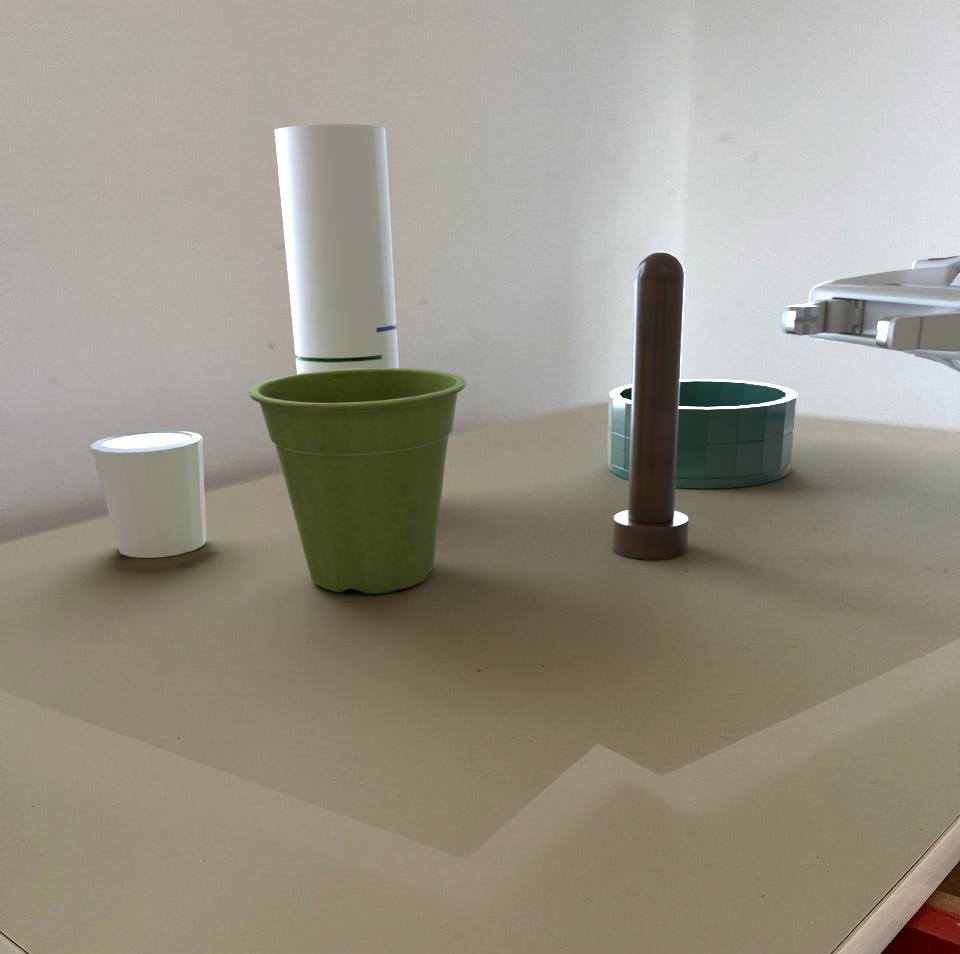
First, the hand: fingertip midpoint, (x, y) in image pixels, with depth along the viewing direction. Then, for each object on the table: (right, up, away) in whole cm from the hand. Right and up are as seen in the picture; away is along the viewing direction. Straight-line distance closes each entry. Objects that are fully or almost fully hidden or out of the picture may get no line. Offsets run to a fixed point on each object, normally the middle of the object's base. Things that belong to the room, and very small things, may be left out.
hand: (833, 326), depth 63 cm
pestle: (-11, -13, +2) cm, 17 cm away
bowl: (-4, -5, +22) cm, 23 cm away
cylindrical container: (-31, -9, +14) cm, 35 cm away
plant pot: (-28, -16, -2) cm, 32 cm away
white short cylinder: (-42, -13, +5) cm, 45 cm away
